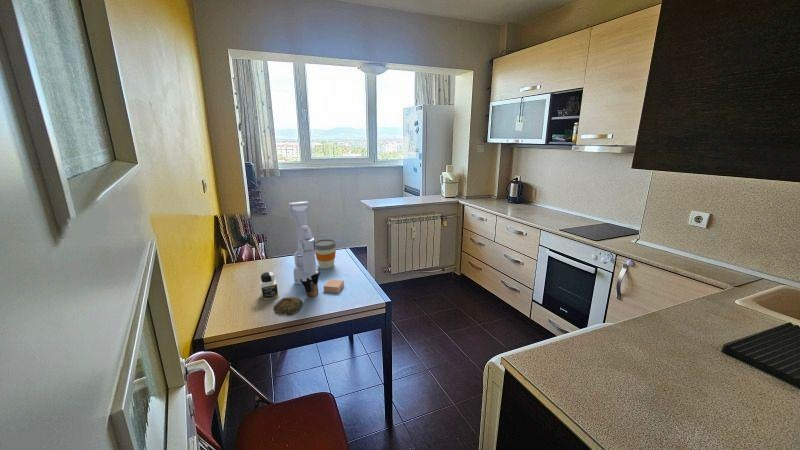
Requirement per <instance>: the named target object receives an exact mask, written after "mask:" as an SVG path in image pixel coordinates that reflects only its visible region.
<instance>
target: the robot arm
mask: <svg viewBox="0 0 800 450" xmlns="http://www.w3.org/2000/svg"><path fill="white" fill-rule="evenodd" d="M288 212H289V213H288V214H289V217H290V219H292V220H294V222H295V223H294V224H295V229H296V237H297V245H298V249H297V250H296V251H295V252H294V254H293V255H294V264H295V265H294V266H295V267H294V269H293V279H294V282H293V284H294V285H302V286H303V287H304V290H305V293H306V292H311V283H313V284H318V283H319V277H320V274H321V270H319V269H320V267H319V265H317V264H316V263H317V262H316V253H315V252H316V244H315V242H316V241H315V238H314V236H313V234H312V230H311V227H310V226H308V220H307V217H308V216H309V214H310V213H309V212H310V204H309V202H308V201H307V200H305V201H298V202H297V201H296V202H289V203H288Z"/></svg>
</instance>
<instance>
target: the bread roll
mask: <svg viewBox="0 0 800 450" xmlns="http://www.w3.org/2000/svg"><path fill="white" fill-rule="evenodd" d="M303 305H304V301H303V300H302V299H301V298H300V297H298V296H297V297H295V296H287V297H283V298H281V299H280V300H278V301H277V303H276V304H275V305H274V306H273V308H272V309H273V311H274V313H276V314H278V313H279V314H278V315H285V314H286V315H285V316H292V315H294V314H296V313H297V312H298V311H299V310H300V309H301V308H302V306H303Z"/></svg>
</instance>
